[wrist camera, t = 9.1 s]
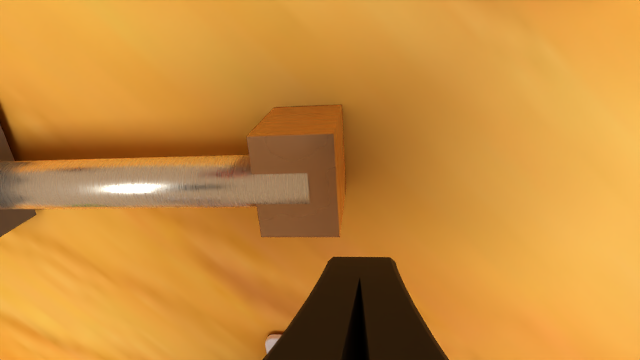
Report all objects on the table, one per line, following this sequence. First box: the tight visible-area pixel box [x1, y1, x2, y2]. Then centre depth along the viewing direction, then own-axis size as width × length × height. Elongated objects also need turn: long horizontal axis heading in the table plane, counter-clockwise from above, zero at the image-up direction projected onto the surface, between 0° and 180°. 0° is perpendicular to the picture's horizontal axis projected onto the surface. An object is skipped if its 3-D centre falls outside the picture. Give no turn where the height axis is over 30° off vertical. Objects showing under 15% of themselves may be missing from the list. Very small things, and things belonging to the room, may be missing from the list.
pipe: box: [0, 105, 346, 237], centre depth 17 cm, size 22×4×5 cm, turn 94°
